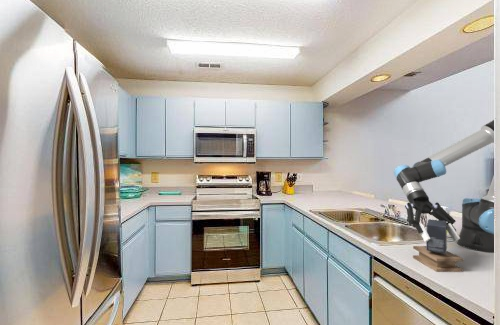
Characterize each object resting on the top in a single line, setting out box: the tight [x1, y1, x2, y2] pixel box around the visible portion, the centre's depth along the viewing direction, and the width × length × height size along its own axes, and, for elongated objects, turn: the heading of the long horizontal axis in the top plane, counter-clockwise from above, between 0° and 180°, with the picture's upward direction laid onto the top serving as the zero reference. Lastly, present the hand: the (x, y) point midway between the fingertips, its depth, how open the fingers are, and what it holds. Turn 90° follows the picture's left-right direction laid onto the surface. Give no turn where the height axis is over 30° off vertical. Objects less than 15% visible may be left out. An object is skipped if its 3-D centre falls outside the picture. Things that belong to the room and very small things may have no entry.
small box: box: [425, 218, 448, 254], centre depth 100 cm, size 11×6×10 cm, turn 141°
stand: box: [412, 245, 464, 273], centre depth 100 cm, size 10×13×5 cm
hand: (442, 240), depth 97 cm, fingers closed on small box, 11 cm apart
